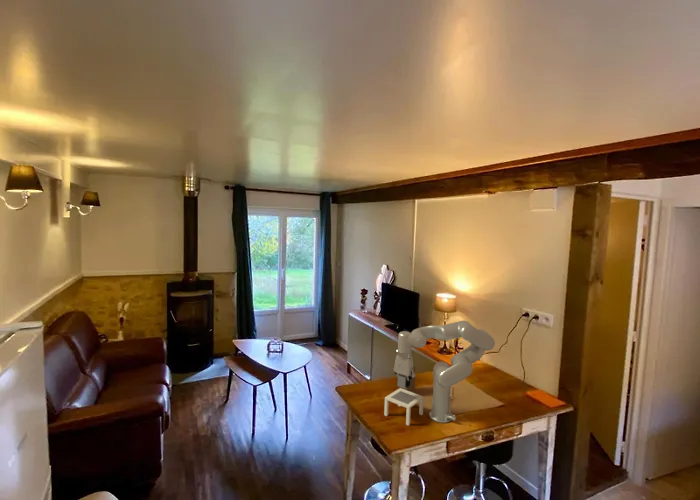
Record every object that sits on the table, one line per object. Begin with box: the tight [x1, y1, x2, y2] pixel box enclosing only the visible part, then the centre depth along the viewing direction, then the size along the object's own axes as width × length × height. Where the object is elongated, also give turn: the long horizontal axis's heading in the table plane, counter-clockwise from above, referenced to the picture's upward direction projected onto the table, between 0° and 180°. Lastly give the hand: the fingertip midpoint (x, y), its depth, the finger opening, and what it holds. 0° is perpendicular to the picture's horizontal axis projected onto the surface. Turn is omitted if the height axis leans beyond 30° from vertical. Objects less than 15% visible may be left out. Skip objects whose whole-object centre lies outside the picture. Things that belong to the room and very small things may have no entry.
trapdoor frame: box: [383, 387, 425, 426], centre depth 213 cm, size 16×16×10 cm
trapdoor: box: [392, 392, 417, 404], centre depth 213 cm, size 10×10×1 cm
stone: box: [396, 374, 407, 389], centre depth 211 cm, size 5×5×6 cm
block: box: [398, 363, 416, 393], centre depth 239 cm, size 11×8×20 cm
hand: (403, 384), depth 211 cm, fingers closed on stone, 5 cm apart
